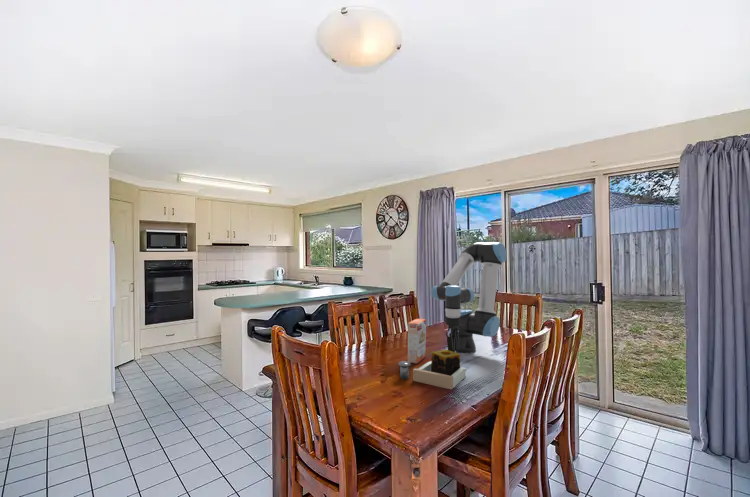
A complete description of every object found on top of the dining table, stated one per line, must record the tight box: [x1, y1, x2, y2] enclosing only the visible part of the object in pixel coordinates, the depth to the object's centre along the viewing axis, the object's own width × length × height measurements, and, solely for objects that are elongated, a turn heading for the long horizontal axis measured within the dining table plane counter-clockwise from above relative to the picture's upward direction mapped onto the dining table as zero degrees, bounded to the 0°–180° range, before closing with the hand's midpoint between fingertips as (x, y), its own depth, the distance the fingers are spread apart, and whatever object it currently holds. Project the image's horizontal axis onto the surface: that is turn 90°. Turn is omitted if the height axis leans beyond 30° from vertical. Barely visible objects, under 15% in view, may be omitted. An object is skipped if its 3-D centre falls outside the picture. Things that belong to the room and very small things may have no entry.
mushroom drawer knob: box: [398, 360, 412, 380], centre depth 160 cm, size 6×6×7 cm
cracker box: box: [407, 318, 427, 364], centre depth 186 cm, size 14×6×21 cm, turn 154°
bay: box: [412, 360, 466, 390], centre depth 159 cm, size 18×18×5 cm
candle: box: [430, 348, 461, 376], centre depth 164 cm, size 10×10×10 cm
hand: (452, 363), depth 173 cm, fingers closed
